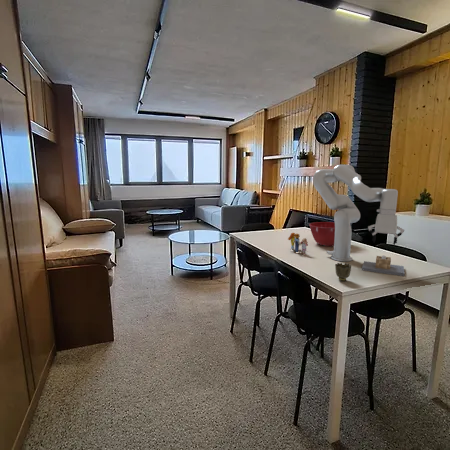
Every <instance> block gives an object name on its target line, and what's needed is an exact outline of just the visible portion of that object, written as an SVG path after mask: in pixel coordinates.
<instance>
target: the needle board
mask: <svg viewBox="0 0 450 450" xmlns="http://www.w3.org/2000/svg"><path fill="white" fill-rule="evenodd" d="M381 256H382V259H386V257H387V256H386V255H381ZM361 266H362V267H361V271H363V272H364V271H365V272H372V273H380V274H387V275H395V276H400V277H405V266H404V265H398V264H390V269H382V268H375V266H376V261H375V262H373V261H365V260H363V263H362V265H361Z"/></svg>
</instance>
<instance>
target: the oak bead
mask: <svg viewBox="0 0 450 450" xmlns="http://www.w3.org/2000/svg"><path fill="white" fill-rule="evenodd" d="M382 256H383V255H376V257H375V258H376V259H375V263H376V266H375V268H382V269H390V264H391V262H392V257H391V256H386V259H382ZM391 265H392V264H391Z"/></svg>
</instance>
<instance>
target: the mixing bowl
mask: <svg viewBox="0 0 450 450" xmlns="http://www.w3.org/2000/svg"><path fill="white" fill-rule="evenodd" d="M309 229H310V232H311V235H312V237H313V240H314V241H315V242H316V244H318V245H319V244H320V246H322V245H325V246H324V247H334V240H335V221H334V222H333V221H332V222H331V221H320V222H318V221H316V222H311V223H309Z"/></svg>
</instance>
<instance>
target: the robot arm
mask: <svg viewBox="0 0 450 450" xmlns="http://www.w3.org/2000/svg"><path fill="white" fill-rule="evenodd" d="M337 182H342V183H343V184H345V185H346V186H347V187H349V188H350V190H351V192H352V193H353V195H355V196H356V197H358V198H359V199H360V200H362V201H364V202H367V203H374V202H376V203H377V202H380V206H379V208H378V209H376V212H377V216H376V218H375V224H371V225H368V226H367V229H368V231H369V233H371V235H372V241H373V243H375V242H376V238H377V235H376V234H378V233H379V234H385V235H386V234H387V235H388V234H389V235H393V236H394V237H393V243H392V244H393V245H394V246H395V245H396V244H397V243H398V238H399V237H401V236H402V235H403V234H404V232H405V229H403V228H402V227H400V226H398V215H397V214H396V212H397V205H398V194H399V192H398V191H399V190H397V189H395V188H383V187H369V186H368V185H366V184H364V183H363V182H362V176H361V174H358V173H357V172H356V171H355V168H354V166H353V165H351V164H337V165H336V166H334V167H333V168H332V169H329V168H328V169H327V168H325V169H323V168H322V169H318V170H316V171H315V172H314V173H313V177H312V183H313V186H314V188H315V190H316V191H317V193H318V194H319V195H320V197H321V198H322V199H323V201H324V203H325V204H326V205H327V207H328V208H329V209H330V210H332V211H336V212H335V213H334V215H333V219H334V223H335V240H334V246H333V250H331V251H330V250H326V255H330V259H331V260H334V261H338V262H343V263H344V262H351V261H353V256H351V245H352V244H351V243H352V226H351V224H353V223H357V222H358V221H360V219H361V212H360V210H359V209H358V207H357V206H356V204H355V203H354V202H353V201H352V199H350V197H349V196H348V195H346V194H338V193H337V192H336V191H335V189H334V188H333V187H332V185H330V184H329V183H337ZM373 228H374V230H373ZM397 230H399V232H398V233H397Z"/></svg>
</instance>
